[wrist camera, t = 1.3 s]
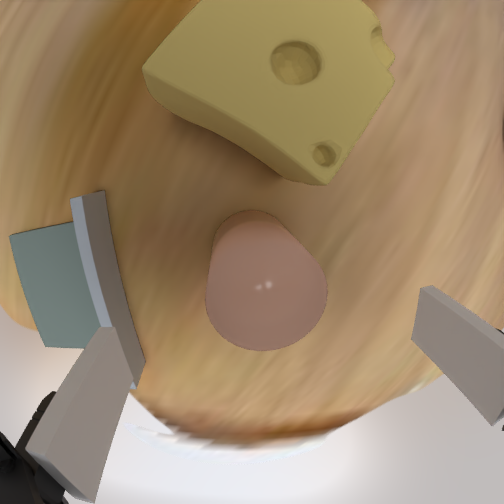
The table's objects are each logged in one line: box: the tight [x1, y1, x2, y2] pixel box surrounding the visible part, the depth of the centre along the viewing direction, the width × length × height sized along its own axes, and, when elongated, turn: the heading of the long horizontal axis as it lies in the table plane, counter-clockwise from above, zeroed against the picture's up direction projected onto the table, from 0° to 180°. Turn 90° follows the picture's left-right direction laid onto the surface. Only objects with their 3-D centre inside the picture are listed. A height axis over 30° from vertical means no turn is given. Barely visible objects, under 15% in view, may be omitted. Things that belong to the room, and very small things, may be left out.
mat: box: [9, 222, 101, 349], centre depth 21 cm, size 12×9×1 cm
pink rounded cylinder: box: [205, 210, 328, 351], centre depth 18 cm, size 6×6×9 cm
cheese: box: [142, 0, 395, 186], centre depth 14 cm, size 10×11×10 cm
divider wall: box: [70, 190, 146, 389], centre depth 20 cm, size 16×1×4 cm, turn 5°
